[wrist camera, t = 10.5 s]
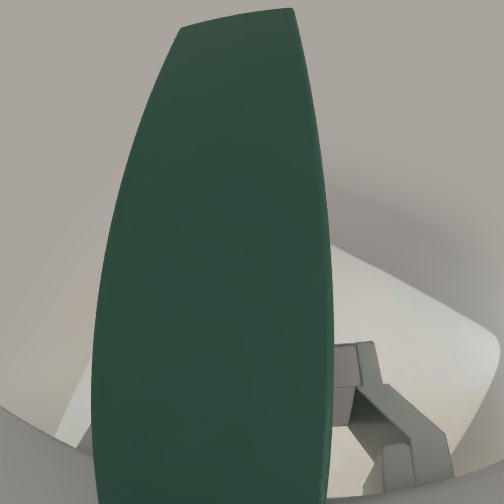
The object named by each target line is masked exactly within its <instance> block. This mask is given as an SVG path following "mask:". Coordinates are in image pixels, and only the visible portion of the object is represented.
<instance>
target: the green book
mask: <svg viewBox="0 0 504 504" xmlns="http://www.w3.org/2000/svg"><path fill="white" fill-rule="evenodd" d="M329 237H330V236H329V225H328V213H327V202H326V193H325V183H324V175H323V168H322V158H321V151H320V144H319V137H318V130H317V123H316V117H315V110H314V105H313V99H312V93H311V87H310V82H309V77H308V71H307V66H306V61H305V56H304V52H303V47H302V43H301V38H300V33H299V29H298V25H297V21H296V16H295V12H294V10H293V9H292V8H281V9H272V10H265V11H257V12H251V13H244V14H238V15H233V16H228V17H223V18H218V19H213V20H209V21H205V22H201V23H197V24H193V25H189V26H185V27H182V28H181V29H180V30H179V32H178V34H177V36H176V38H175V40H174V42H173V44H172V46H171V48H170V50H169V53H168V55H167V57H166V59H165V61H164V64H163V66H162V68H161V70H160V73H159V75H158V78H157V80H156V82H155V85H154V87H153V90H152V92H151V95H150V97H149V100H148V102H147V105H146V108H145V110H144V113H143V116H142V119H141V121H140V124H139V127H138V130H137V133H136V136H135V139H134V142H133V145H132V148H131V151H130V154H129V158H128V161H127V164H126V168H125V171H124V175H123V178H122V182H121V186H120V189H119V193H118V197H117V201H116V205H115V210H114V214H113V218H112V222H111V227H110V231H109V236H108V241H107V247H106V252H105V257H104V263H103V268H102V275H101V281H100V288H99V295H98V302H97V311H96V321H95V330H94V341H93V356H92V377H91V427H92V447H93V461H94V471H95V480H96V489H97V496H98V503H99V504H326V496H327V487H328V477H329V466H330V454H331V439H332V421H333V396H334V312H333V285H332V266H331V250H330V238H329Z"/></svg>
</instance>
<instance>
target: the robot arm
mask: <svg viewBox="0 0 504 504" xmlns="http://www.w3.org/2000/svg"><path fill="white" fill-rule="evenodd" d="M332 426H348V428H349V429H350V431H351V432H352V433H353V435H354V436H355V437H356V439H357V440H358V441H359V443H360V444H361V445H362V447H363V448H364V449H365V451H366V452H367V453H368V455H369V456H370V457H371V459H372V460H373V461H374V463H375V464H374V466H373V468H372V470H371V472H370V474H369V476H368V478H367V479H366V481H365V483H364V485H363V495H362V496H351V497H337V498H326V504H504V460H502V461H499V462H497V463H494V464H492V465H490V466H487V467H484V468H481V469H479V470H476V471H473V472H470V473H467V474H464V475H461V476H457V477H454V471H453V466H452V461H451V456H450V452H449V447H448V443H447V439H446V435H445V433H444V432H443V431H442V430H441V429H439V428H438V427H437V426H436V425H435V424H434V423H432V422H431V421H430V420H429V419H428V418H427V417H426V416H424V415H423V414H422V413H421V412H420V411H419V410H418V409H416V408H415V407H414V406H413V405H412V404H411V403H410V402H408V401H407V400H406V399H405V398H404V397H403V396H402V395H400V394H399V393H398V392H397V391H396V390H395V389H394V388H392V387H391V386H390V385H389V384H383V382H382V377H381V372H380V367H379V362H378V358H377V353H376V349H375V344H374V342H373V341H367V342H356V343H344V344H334V396H333V421H332ZM0 504H99V503H98V496H97V489H96V480H95V471H94V461H93V447H92V427H91V425H90V427H89V428H88V430H87V432H86V433H85V435H84V437H83V438H82V440H81V442H80V443H79V445H78V447H77V448H75V447H73V446H70V445H68V444H66V443H64V442H62V441H60V440H58V439H56V438H54V437H52V436H50V435H48V434H47V433H45V432H43V431H41V430H39V429H37V428H36V427H34V426H32V425H30V424H29V423H27V422H25V421H24V420H22V419H20V418H19V417H17V416H16V415H14V414H12V413H11V412H9V411H8V410H6V409H5V408H3V407H2V406H0Z"/></svg>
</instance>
